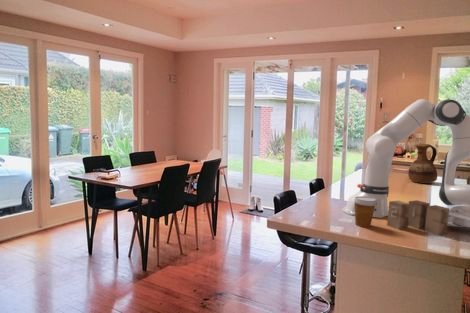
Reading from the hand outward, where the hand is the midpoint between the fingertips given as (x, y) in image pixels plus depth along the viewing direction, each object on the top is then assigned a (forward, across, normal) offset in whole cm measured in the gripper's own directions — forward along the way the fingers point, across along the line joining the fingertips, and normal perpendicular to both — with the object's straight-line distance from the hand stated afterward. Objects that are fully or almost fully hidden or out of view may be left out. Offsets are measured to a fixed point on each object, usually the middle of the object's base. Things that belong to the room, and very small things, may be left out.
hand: (442, 218), depth 161 cm
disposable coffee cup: (+26, -20, +6) cm, 33 cm away
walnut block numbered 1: (+3, -9, +6) cm, 11 cm away
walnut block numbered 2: (+13, -12, +6) cm, 18 cm away
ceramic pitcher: (-112, -84, +6) cm, 140 cm away
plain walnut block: (+4, 0, +6) cm, 7 cm away
